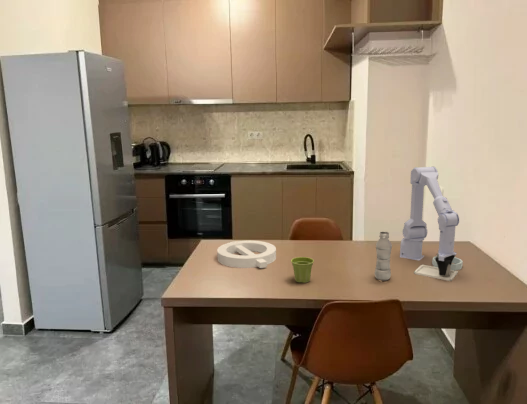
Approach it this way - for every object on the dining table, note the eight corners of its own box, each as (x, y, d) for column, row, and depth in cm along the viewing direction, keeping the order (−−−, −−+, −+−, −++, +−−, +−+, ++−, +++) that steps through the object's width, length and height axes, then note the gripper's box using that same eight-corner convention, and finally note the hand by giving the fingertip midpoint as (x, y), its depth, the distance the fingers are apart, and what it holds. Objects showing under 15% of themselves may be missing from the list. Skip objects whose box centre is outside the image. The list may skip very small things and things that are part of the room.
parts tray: (413, 275, 186) (413, 271, 186) (421, 267, 194) (421, 264, 194) (451, 282, 177) (451, 279, 177) (457, 274, 186) (457, 271, 186)
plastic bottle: (391, 277, 184) (393, 231, 180) (390, 283, 177) (392, 235, 173) (375, 275, 186) (376, 230, 182) (373, 281, 179) (375, 234, 175)
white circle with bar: (265, 271, 194) (265, 261, 193) (207, 265, 203) (207, 255, 202) (282, 252, 220) (282, 242, 219) (231, 247, 229) (230, 238, 228)
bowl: (429, 268, 194) (429, 261, 193) (436, 260, 203) (437, 253, 202) (458, 273, 187) (458, 266, 186) (464, 265, 196) (465, 258, 195)
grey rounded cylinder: (437, 275, 183) (438, 265, 182) (440, 272, 187) (441, 262, 186) (448, 277, 181) (449, 267, 180) (451, 274, 184) (452, 264, 183)
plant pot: (286, 279, 183) (286, 259, 181) (303, 274, 189) (303, 255, 187) (301, 286, 176) (301, 266, 174) (318, 281, 181) (318, 261, 179)
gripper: (452, 247, 173) (450, 280, 175) (461, 238, 184) (458, 269, 187) (434, 244, 177) (432, 276, 179) (443, 235, 188) (441, 266, 191)
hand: (444, 272), depth 183 cm, fingers open, 6 cm apart
